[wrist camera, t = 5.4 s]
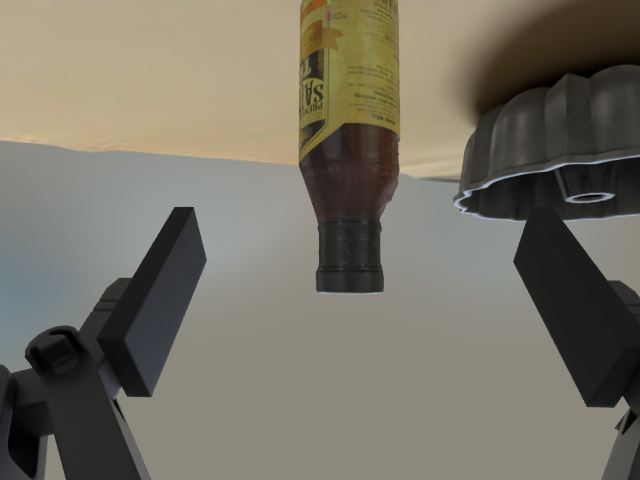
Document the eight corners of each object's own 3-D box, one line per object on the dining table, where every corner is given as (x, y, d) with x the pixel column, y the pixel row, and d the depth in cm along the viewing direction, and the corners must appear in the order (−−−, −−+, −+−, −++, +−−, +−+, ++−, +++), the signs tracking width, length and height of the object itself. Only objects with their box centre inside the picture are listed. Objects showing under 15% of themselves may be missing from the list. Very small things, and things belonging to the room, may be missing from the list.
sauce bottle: (300, -58, 24) (295, 293, 21) (409, -53, 24) (417, 294, 21) (300, 18, 30) (296, 294, 27) (385, 21, 30) (390, 294, 28)
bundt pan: (401, 125, 49) (403, 209, 47) (678, -24, 26) (696, 129, 25) (540, 162, 61) (544, 229, 60) (808, 83, 39) (825, 188, 37)
